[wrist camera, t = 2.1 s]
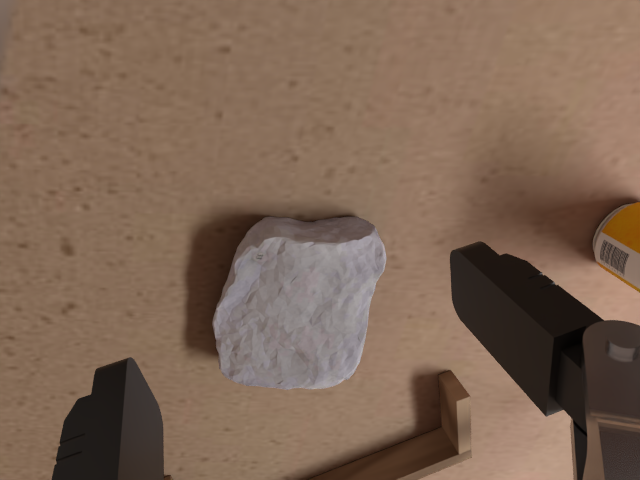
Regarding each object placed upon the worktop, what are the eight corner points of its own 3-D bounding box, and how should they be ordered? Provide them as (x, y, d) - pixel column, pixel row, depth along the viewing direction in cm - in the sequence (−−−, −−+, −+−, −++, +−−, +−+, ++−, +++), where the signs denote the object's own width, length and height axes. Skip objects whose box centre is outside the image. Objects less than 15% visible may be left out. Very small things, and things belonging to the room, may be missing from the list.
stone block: (213, 347, 35) (346, 357, 37) (204, 393, 31) (356, 403, 32) (227, 194, 30) (380, 213, 32) (220, 223, 26) (397, 244, 27)
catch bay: (154, 481, 37) (154, 518, 34) (450, 370, 41) (470, 396, 38) (188, 535, 41) (190, 572, 39) (454, 430, 45) (471, 457, 42)
